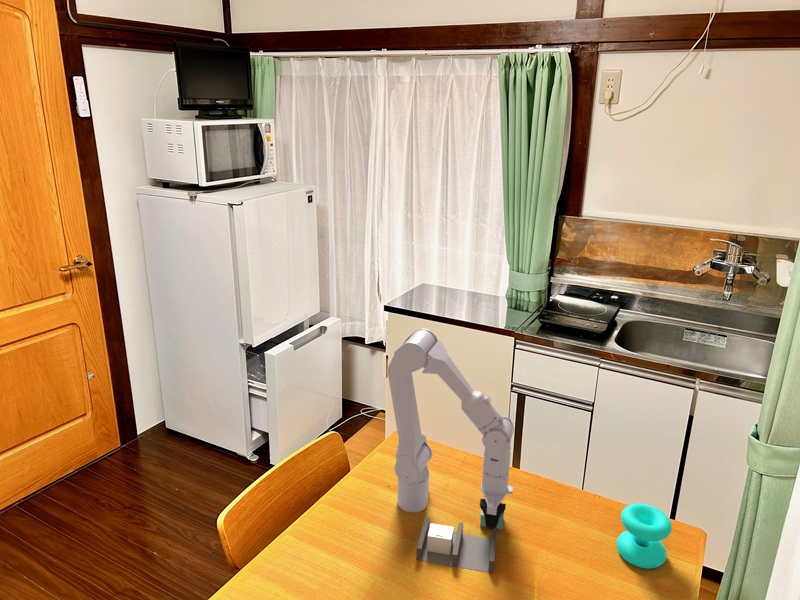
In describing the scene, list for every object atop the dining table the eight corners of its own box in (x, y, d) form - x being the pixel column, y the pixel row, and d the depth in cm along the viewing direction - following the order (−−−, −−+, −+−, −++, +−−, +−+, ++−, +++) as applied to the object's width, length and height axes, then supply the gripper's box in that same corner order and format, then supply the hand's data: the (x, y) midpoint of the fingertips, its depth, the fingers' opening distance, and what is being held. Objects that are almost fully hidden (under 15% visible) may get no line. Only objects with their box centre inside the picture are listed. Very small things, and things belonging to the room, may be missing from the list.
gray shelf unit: (424, 531, 135) (425, 516, 134) (496, 543, 132) (497, 528, 130) (416, 563, 126) (416, 548, 124) (492, 577, 123) (494, 561, 121)
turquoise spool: (619, 522, 124) (625, 495, 132) (612, 561, 127) (619, 532, 136) (671, 538, 120) (674, 509, 128) (663, 578, 123) (666, 546, 131)
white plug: (430, 538, 132) (430, 522, 130) (452, 541, 131) (453, 526, 129) (427, 551, 128) (427, 535, 126) (450, 555, 127) (451, 539, 125)
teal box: (481, 518, 139) (482, 503, 138) (503, 521, 138) (504, 506, 137) (479, 529, 136) (480, 514, 134) (502, 533, 135) (503, 518, 133)
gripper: (512, 492, 125) (508, 545, 129) (515, 453, 138) (511, 502, 143) (478, 487, 126) (475, 540, 131) (484, 449, 139) (481, 498, 144)
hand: (491, 520), depth 137 cm, fingers closed on teal box, 4 cm apart
